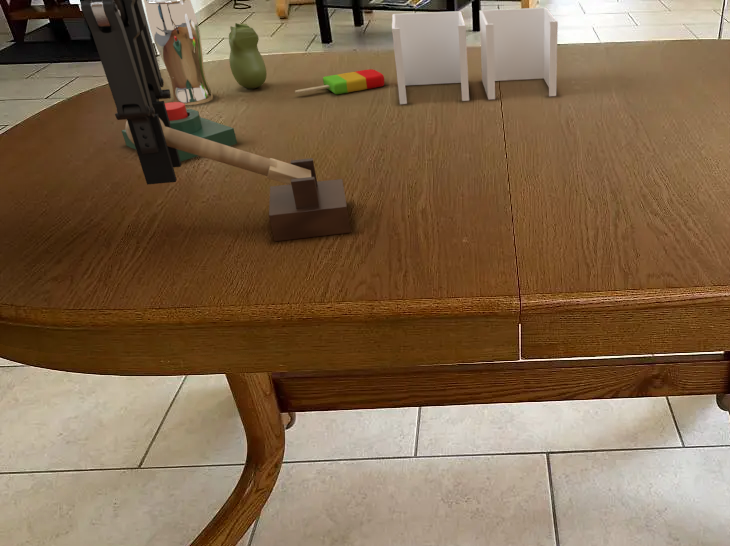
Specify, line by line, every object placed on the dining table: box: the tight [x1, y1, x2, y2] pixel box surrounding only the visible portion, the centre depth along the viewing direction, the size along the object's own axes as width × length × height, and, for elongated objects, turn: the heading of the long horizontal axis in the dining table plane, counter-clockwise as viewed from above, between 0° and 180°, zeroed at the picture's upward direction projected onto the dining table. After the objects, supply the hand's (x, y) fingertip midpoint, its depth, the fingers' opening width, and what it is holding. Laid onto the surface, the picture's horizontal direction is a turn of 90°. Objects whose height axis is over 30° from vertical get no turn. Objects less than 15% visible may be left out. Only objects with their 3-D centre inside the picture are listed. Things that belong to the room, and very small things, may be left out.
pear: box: [228, 22, 267, 90], centre depth 123 cm, size 6×5×10 cm
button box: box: [121, 108, 238, 162], centre depth 102 cm, size 12×10×4 cm
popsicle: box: [294, 68, 385, 95], centre depth 123 cm, size 6×15×2 cm, turn 122°
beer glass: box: [143, 0, 214, 106], centre depth 116 cm, size 7×7×15 cm
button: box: [164, 101, 188, 121], centre depth 101 cm, size 4×4×2 cm
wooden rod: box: [124, 118, 311, 185], centre depth 76 cm, size 18×4×4 cm, turn 103°
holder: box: [268, 157, 352, 242], centre depth 81 cm, size 8×8×6 cm
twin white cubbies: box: [391, 7, 559, 105], centre depth 119 cm, size 25×11×11 cm, turn 97°
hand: (164, 173), depth 76 cm, fingers closed on wooden rod, 4 cm apart
